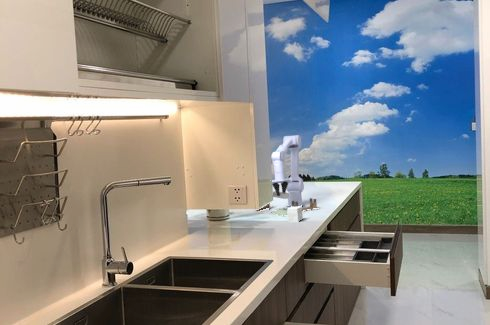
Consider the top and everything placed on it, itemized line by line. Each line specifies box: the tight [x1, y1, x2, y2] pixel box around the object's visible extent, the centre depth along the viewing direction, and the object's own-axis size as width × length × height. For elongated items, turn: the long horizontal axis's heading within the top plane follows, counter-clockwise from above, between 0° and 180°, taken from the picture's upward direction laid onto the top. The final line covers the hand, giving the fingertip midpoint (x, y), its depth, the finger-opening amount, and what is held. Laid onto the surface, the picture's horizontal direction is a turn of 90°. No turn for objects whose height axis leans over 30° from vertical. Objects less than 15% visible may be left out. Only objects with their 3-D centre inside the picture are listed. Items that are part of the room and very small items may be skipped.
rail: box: [272, 190, 289, 200], centre depth 294 cm, size 16×3×3 cm, turn 22°
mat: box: [270, 208, 288, 217], centre depth 294 cm, size 20×9×1 cm, turn 22°
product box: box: [286, 207, 304, 223], centre depth 266 cm, size 6×6×7 cm
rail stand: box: [292, 197, 320, 211], centre depth 298 cm, size 8×15×6 cm, turn 112°
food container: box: [255, 202, 271, 211], centre depth 310 cm, size 12×6×10 cm, turn 130°
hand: (281, 195), depth 293 cm, fingers closed on rail, 3 cm apart
